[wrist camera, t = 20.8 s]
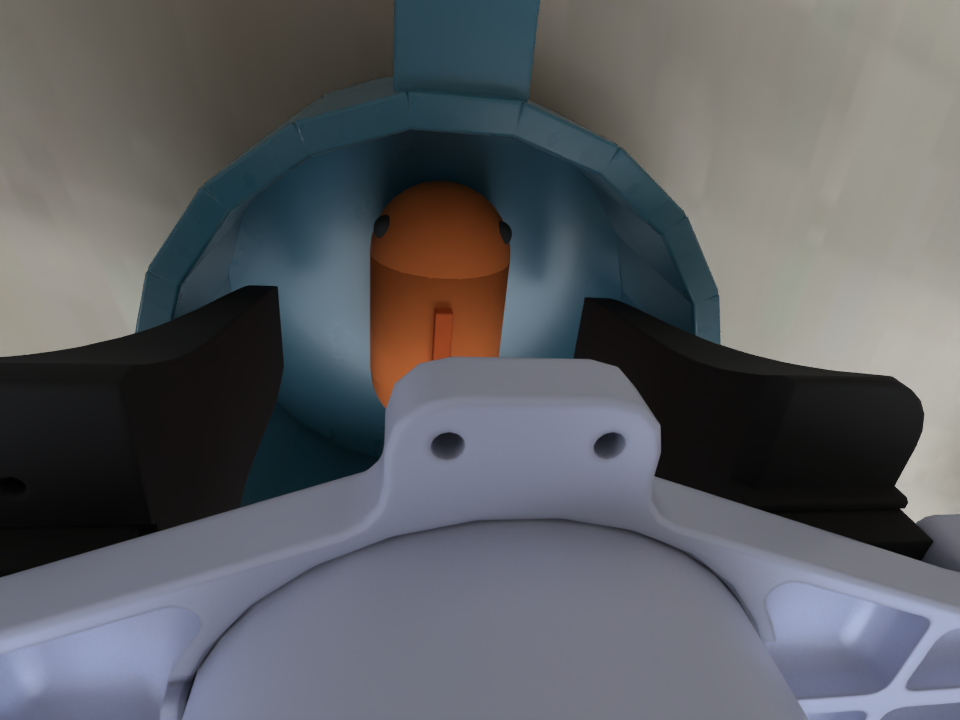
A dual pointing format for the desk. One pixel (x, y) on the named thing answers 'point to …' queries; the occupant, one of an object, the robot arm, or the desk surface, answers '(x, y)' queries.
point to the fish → (435, 280)
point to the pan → (385, 174)
